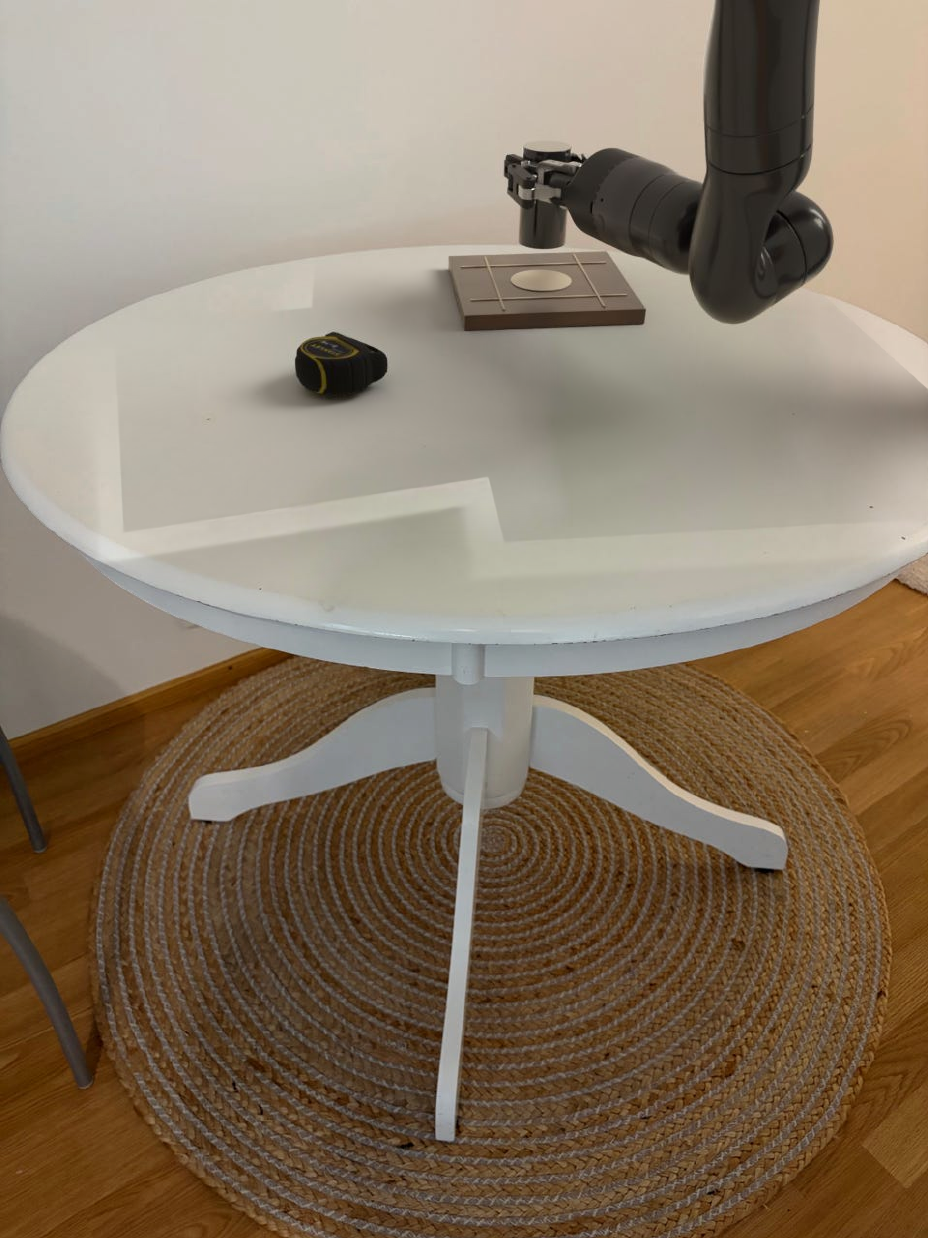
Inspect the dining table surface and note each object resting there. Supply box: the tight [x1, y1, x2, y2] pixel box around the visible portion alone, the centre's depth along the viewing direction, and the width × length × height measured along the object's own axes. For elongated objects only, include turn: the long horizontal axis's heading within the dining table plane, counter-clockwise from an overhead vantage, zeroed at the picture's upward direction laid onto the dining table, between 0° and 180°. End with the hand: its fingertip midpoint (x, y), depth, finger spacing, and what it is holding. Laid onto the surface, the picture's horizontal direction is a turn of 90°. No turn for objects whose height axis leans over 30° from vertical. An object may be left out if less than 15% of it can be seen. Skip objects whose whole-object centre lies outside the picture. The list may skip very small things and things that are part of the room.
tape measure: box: [294, 331, 389, 397], centre depth 82 cm, size 7×7×4 cm
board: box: [448, 250, 647, 331], centre depth 100 cm, size 18×18×2 cm
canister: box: [518, 140, 573, 250], centre depth 95 cm, size 5×5×9 cm
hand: (532, 162), depth 95 cm, fingers closed on canister, 4 cm apart
